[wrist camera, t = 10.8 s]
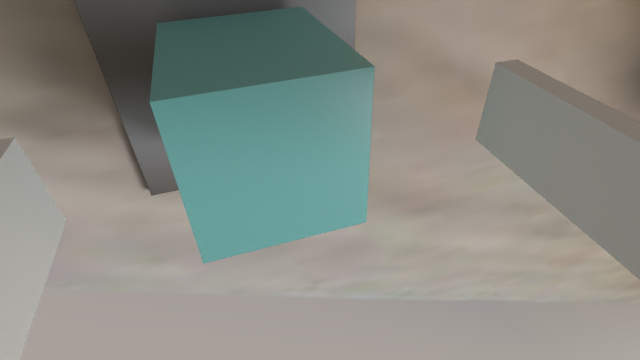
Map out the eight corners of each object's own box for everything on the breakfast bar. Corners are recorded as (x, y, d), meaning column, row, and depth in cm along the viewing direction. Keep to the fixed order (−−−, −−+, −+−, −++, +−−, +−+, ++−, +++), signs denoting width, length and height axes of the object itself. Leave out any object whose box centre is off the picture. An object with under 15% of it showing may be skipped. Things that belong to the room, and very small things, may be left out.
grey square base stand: (54, -59, 12) (-41, -22, 6) (352, -78, 14) (465, -63, 9) (151, 190, 18) (144, 315, 13) (349, 149, 20) (415, 240, 15)
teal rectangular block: (157, 23, 13) (149, 102, 8) (301, 6, 14) (374, 66, 9) (192, 149, 16) (203, 263, 11) (309, 127, 17) (366, 222, 12)
